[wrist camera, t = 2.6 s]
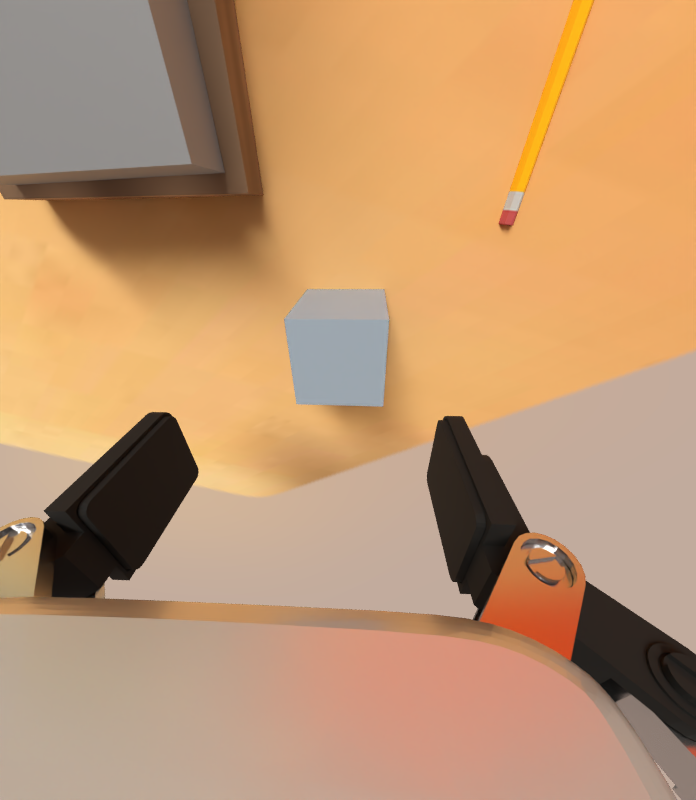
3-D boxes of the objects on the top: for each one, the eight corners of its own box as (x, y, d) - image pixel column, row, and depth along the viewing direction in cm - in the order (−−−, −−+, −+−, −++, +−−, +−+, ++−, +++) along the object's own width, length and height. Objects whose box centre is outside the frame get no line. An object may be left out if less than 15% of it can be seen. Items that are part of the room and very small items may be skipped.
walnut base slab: (192, -314, 9) (124, -514, 6) (267, 195, 16) (248, 193, 14) (-170, -262, 10) (-354, -422, 7) (57, 200, 17) (4, 199, 15)
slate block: (384, 289, 18) (388, 319, 13) (380, 359, 21) (383, 406, 16) (307, 289, 18) (284, 318, 13) (313, 358, 21) (296, 404, 16)
